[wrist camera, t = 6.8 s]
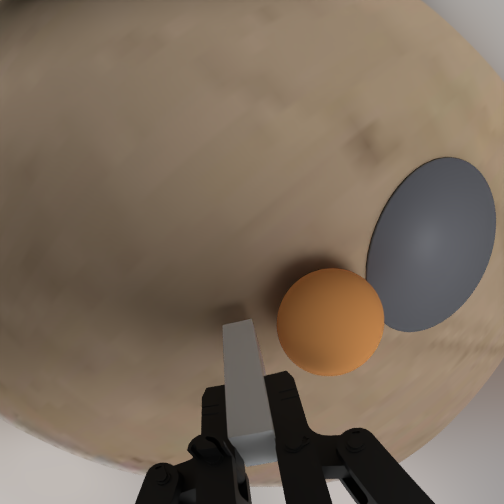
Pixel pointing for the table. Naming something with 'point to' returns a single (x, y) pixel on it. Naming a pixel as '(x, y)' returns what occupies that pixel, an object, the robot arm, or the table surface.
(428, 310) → the disc
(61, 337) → the table surface
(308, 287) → the ball
